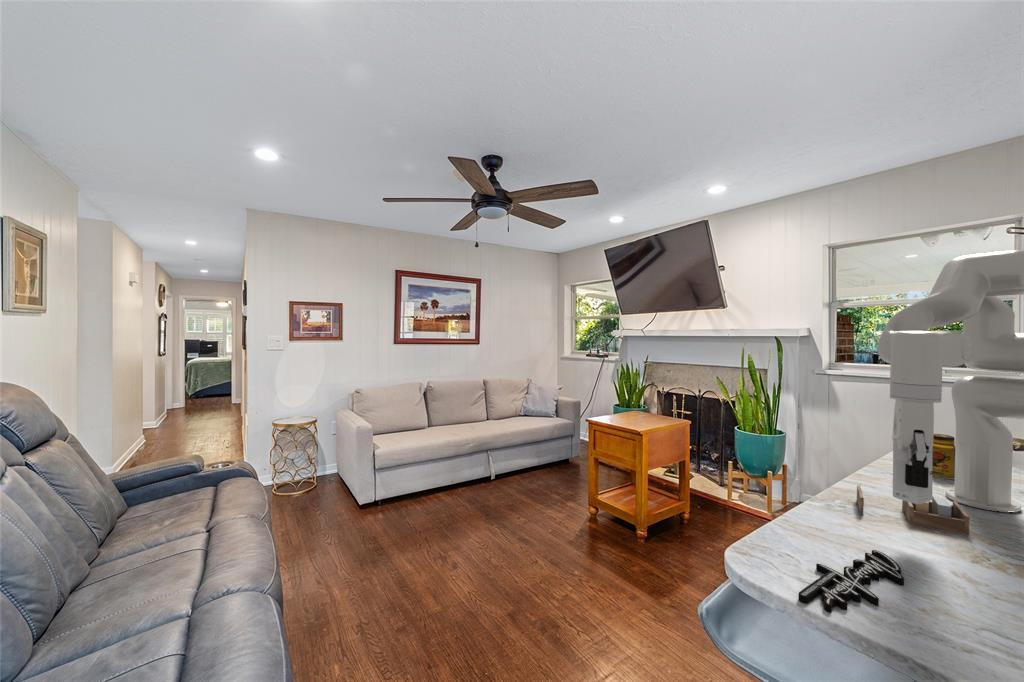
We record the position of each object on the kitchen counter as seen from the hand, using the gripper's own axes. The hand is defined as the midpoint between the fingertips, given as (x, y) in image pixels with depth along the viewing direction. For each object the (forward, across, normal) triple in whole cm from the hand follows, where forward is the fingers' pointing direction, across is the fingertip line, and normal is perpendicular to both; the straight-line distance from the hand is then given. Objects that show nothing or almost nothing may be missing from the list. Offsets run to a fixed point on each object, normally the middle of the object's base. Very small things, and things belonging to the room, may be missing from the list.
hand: (912, 479), depth 85 cm
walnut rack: (+13, -16, +2) cm, 21 cm away
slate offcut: (+13, -16, +7) cm, 22 cm away
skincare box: (+4, 0, 0) cm, 4 cm away
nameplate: (+14, +24, -10) cm, 29 cm away
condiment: (+13, -62, +15) cm, 65 cm away
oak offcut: (+13, -16, +4) cm, 21 cm away
